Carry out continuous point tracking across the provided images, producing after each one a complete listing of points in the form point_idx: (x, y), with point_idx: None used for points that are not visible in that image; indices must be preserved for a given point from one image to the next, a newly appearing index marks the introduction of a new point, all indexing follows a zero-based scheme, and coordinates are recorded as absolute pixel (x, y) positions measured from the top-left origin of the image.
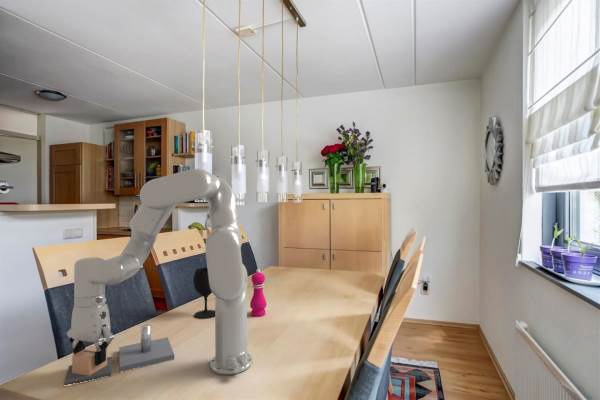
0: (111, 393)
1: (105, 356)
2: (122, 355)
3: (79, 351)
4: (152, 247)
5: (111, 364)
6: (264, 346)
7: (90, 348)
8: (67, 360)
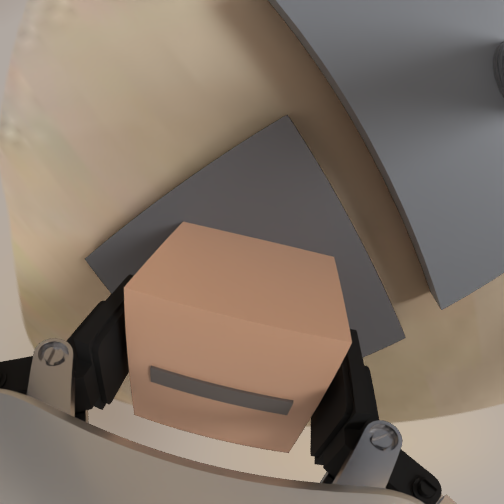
0: (435, 414)
1: (370, 378)
2: (393, 132)
3: (119, 366)
4: None
5: (363, 251)
6: None
7: (166, 338)
8: (19, 158)
